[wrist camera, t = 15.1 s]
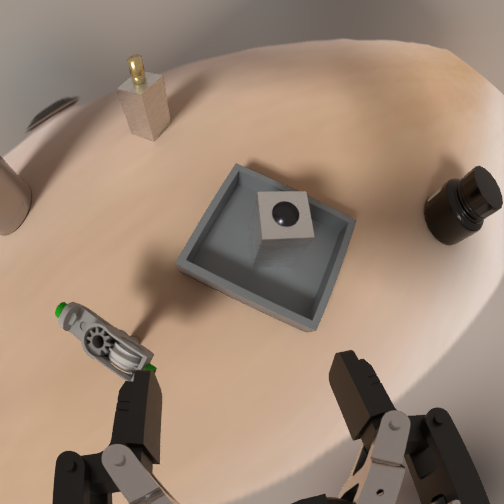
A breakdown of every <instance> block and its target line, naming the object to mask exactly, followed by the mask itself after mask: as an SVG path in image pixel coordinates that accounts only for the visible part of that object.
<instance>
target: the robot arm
mask: <svg viewBox="0 0 504 504" xmlns="http://www.w3.org/2000/svg"><path fill="white" fill-rule="evenodd" d="M30 204H31V191H30V188H29V187H28V185H27V184H26V183H25V182H24V181H23V180H22V179H21V178H20V177H19V176H18V175H17V174H16V173H15V171H14V170H13V169H12V168H11V167H10V166H9V165H8V164H7V163H6V162H5V161H4V159H3V158H2V157H1V156H0V234H1V235H8V234H10V233H12V232H14V231H15V230H16V229H17V228H18V227H19V226H20V225H21V223H22V222H23V220H24V219H25V217H26V215H27V213H28V210H29V208H30ZM376 375H377V374H376V373H375V371H374V369H373V367H372V366H371V365H370V364H369V363H368V362H367V361H365V360H364V359H360V360H358V358H357V356H356V354H355V353H354V351H353V350H349V351H344V352H339V353H336V354H335V357H334V360H333V363H332V366H331V369H330V372H329V382H330V385H331V388H332V390H333V393H334V395H335V397H336V400H337V402H338V405H339V407H340V410H341V412H342V414H343V417H344V419H345V422H346V424H347V427H348V429H349V432H350V434H351V437H352V439H353V440H357V439H360V438H361V440H362V442H363V444H362V445H361V448H360V451H359V454H358V456H357V459H356V462H355V464H354V467H353V469H352V472H351V474H350V476H349V478H348V480H347V482H346V483H345V485H344V486H343V488H342V490H341V492H340V494H339V496H338V498H333V497H326V495H325V494H322V495H319V496H315V497H310V498H307V499H302V500H299V501H297V502H295V503H292V504H395V502H396V499H397V496H398V493H399V490H400V486H401V483H402V480H403V476H404V472H405V467H404V466H402V460H403V457H405V460H406V463H407V465H408V468H409V470H410V473H411V476H412V479H413V481H414V484H415V487H416V489H417V492H418V495H419V498H420V501H421V504H490V503H489V500H488V498H487V495H486V492H485V490H484V487H483V485H482V482H481V480H480V477H479V475H478V473H477V470H476V468H475V466H474V464H473V462H472V459H471V457H470V455H469V453H468V451H467V449H466V447H465V445H464V442H463V440H462V438H461V436H460V434H459V432H458V430H457V428H456V427H455V425H454V423H453V421H452V419H451V417H450V415H449V413H447V411H446V410H444V409H442V408H433V409H431V410H430V411H429V412H428V413H427V414H426V415H416V416H407V415H406V414H405V413H403V412H401V411H397V410H396V409H395V407H394V405H393V404H392V402H391V400H390V398H389V396H388V394H387V393H386V391H385V389H384V387H383V385H382V383H380V380H379V378H378V376H376ZM161 412H162V393H161V389H160V386H159V384H158V381H157V378H156V376H155V373H154V371H153V370H138V369H137V370H135V373H134V379H133V381H125V383H124V384H123V386H122V387H121V389H120V390H119V395H118V403H117V407H116V412H115V418H114V425H113V432H112V439H111V442H110V444H109V446H108V447H107V448H106V449H105V450H104V451H102V452H100V453H97V454H91V455H84V456H80V455H79V454H77V453H76V452H73V451H65V452H63V453H61V454H60V455H59V456H58V458H57V460H56V467H55V477H54V489H53V504H112V493H115V492H122V494H123V495H124V497H125V498H126V499H127V501H128V502H129V504H180V503H179V502H178V501H177V500H176V499H175V498H174V497H173V496H172V495H171V494H170V493H169V492H168V491H167V490H166V488H165V487H164V486H163V485H162V484H161V483H160V481H159V480H158V479H157V478H156V477H155V475H154V474H153V473H152V466H153V464H160V433H161Z"/></svg>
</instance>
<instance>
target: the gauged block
mask: <svg viewBox="0 0 504 504" xmlns="http://www.w3.org/2000/svg"><path fill="white" fill-rule="evenodd" d="M127 61H128V65H129V69H130V74H131V77H129V78H128V79H127V80H126V81H125V82H124V83H123V84H121V86H119V87H118V88H117V92H118V95H119V98H120V101H121V104H122V107H123V110H124V113H125V116H126V119H127V122H128V125H129V127H130V130H131V133H132V134H134V135H136V136H139V137H142V138H145V139H148V140H151V141H153V142H154V141H155V140H156V139H157V138H158V136H159V135H160V134H161V133H162V132H163V131H164V130H165V128H166V127H167V126H168V125H169V124H170V123H171V119H170V114H169V108H168V102H167V96H166V90H165V84H164V78H163V75H160V74H155V73H150V72H145V71H144V67H143V62H142V57H141V55H134V56H131V57H129V58H128V60H127Z"/></svg>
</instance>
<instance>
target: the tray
mask: <svg viewBox="0 0 504 504" xmlns="http://www.w3.org/2000/svg"><path fill="white" fill-rule="evenodd" d="M276 191H297V190H295V189H293V188H290V187H288V186H286V185H284V184H282V183H280V182H277V181H275V180H273V179H271V178H269V177H266V176H264V175H262V174H260V173H257V172H255V171H253V170H250V169H248V168H246V167H243V166H241V165H239V164H235V166H234V167H233V169H232V170H231V172H230V173H229V175H228V176H227V178H226V180H225V181H224V183H223V184H222V186H221V187H220V189H219V191H218V192H217V194H216V195H215V197H214V199H213V200H212V202H211V204H210V205H209V207H208V209H207V210H206V212H205V213H204V215H203V217H202V218H201V220H200V222H199V223H198V225H197V227H196V229H195V230H194V232H193V234H192V235H191V237H190V239H189V240H188V242H187V244H186V246H185V247H184V249H183V251H182V253H181V254H180V256H179V258H178V260H177V261H176V265H177V266H178V268H179V270H180V272H182V273H184V274H186V275H188V276H190V277H192V278H194V279H196V280H198V281H200V282H202V283H204V284H206V285H208V286H210V287H212V288H214V289H216V290H218V291H220V292H222V293H224V294H226V295H228V296H230V297H232V298H234V299H236V300H238V301H240V302H242V303H244V304H246V305H248V306H250V307H252V308H255V309H257V310H259V311H261V312H263V313H265V314H267V315H269V316H272V317H274V318H276V319H278V320H280V321H282V322H285V323H287V324H289V325H291V326H293V327H296V328H298V329H300V330H302V331H305V332H312V331H316V330H317V328H318V325H319V323H320V320H321V318H322V315H323V313H324V310H325V308H326V305H327V303H328V300H329V297H330V295H331V292H332V290H333V287H334V284H335V281H336V279H337V276H338V273H339V270H340V268H341V265H342V262H343V259H344V256H345V253H346V250H347V247H348V244H349V241H350V238H351V235H352V232H353V229H354V226H355V222H356V220H355V219H353V218H351V217H349V216H347V215H345V214H343V213H341V212H339V211H337V210H335V209H334V208H332V207H330V206H328V205H326V204H324V203H322V202H320V201H318V200H316V199H313V198H311V197H309V196H307V198H308V203H309V208H310V214H311V219H312V225H313V231H314V239H313V240H312V241H311V242H310V244H309V245H308V246H307V247H306V248H305V250H304V251H303V252H302V253H301V255H300V256H299V257H298V258H297V259H296V261H295V262H294V263H293V264H292V265H291V267H283V268H267V269H251V258H250V246H249V234H248V232H249V227H250V223H251V218H252V214H253V209H254V205H255V200H256V196H257V192H276Z"/></svg>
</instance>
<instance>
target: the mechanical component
mask: <svg viewBox="0 0 504 504" xmlns="http://www.w3.org/2000/svg"><path fill="white" fill-rule="evenodd" d="M55 315H56V316H57V317H58V318H59V325H60V326H61V327H62V328H63V329H64V330H65V331H69V332H70V333H72V334H73V335H74V336H75V337H77V338H78V339H79V340H80V341H81V342H82V346H83V349H84V351H85V352H86V354H87V355H88V356H90V357H91V358H93V359H96V360H98V361H99V362H100V363H102V364H103V365H104V366H106V367H107V368H108V369H110V370H111V371H113V372H114V373H116V374H117V375H118V376H120V377H121V378H123V379H124V380H126V381H133V379H134V373H135V370H137V369H138V370H153V371H154V373H155V372H156V367H155V366H153V365H151V364H150V362H151V360H152V358H153V356H154V354H153V353H152V352H151V351H150V350H148V349H147V348H145V347H144V346H142V345H141V344H139V340H138V338H136V337H134V336H129V335H128V334H127V333H126V332H125V331H123V330H119V329H117V328H116V327H114V326H112V325H111V324H109V323H108V322H107V321H105V320H104V319H102V318H101V317H100V316H98V315H97V314H96V313H94V312H93V311H91V310H90V309H88V308H87V307H85V306H83V305H81V304H78V303H75V302H71V303H69V304H66V303H65V302H62V303H60V304H59V305H58V307H57V308H56V311H55ZM111 363H113V364H114V365H115V366H117V367H118V368H120V369H122V370H124V371H126V372H128V373H129V374H127V373H124V372H122V371H120V370H118V369H117V368H115V367H114V366H113V365H112V364H111Z"/></svg>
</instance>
